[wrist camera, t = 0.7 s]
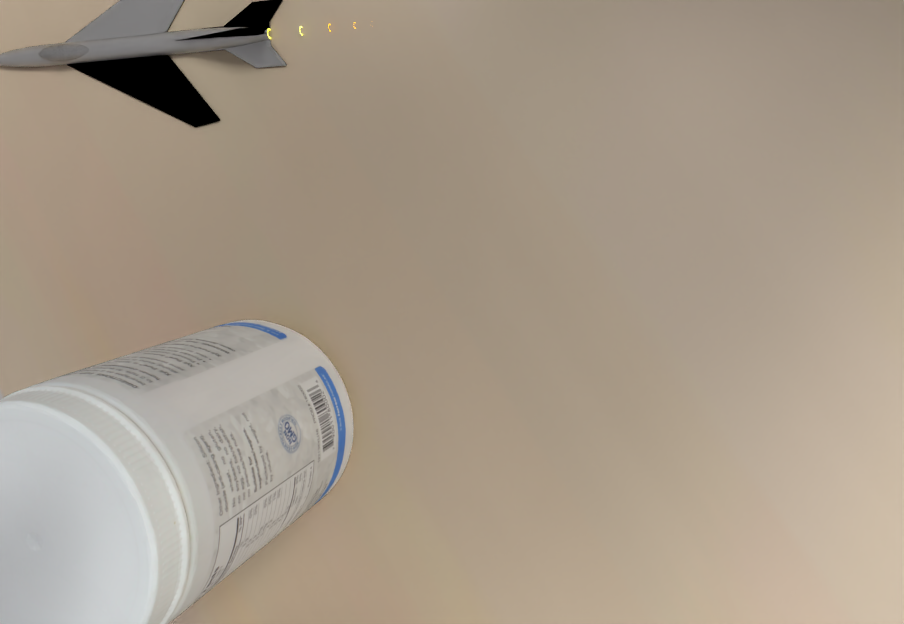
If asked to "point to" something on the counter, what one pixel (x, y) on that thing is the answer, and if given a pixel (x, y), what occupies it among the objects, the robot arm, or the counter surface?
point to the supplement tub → (162, 472)
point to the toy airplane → (155, 52)
